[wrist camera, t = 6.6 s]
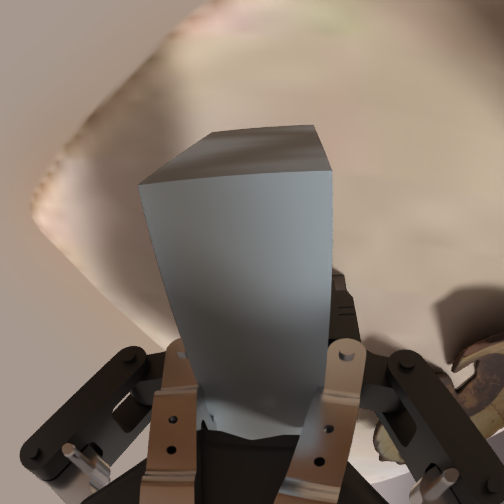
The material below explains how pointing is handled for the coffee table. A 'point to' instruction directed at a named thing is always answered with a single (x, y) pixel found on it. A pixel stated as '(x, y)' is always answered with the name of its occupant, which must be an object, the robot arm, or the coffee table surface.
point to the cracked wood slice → (467, 393)
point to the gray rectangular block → (248, 270)
